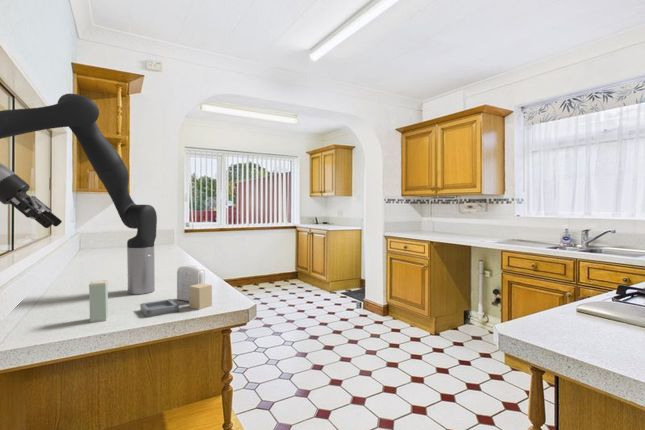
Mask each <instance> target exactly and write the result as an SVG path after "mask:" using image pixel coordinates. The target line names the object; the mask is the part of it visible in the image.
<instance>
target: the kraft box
mask: <svg viewBox="0 0 645 430" xmlns="http://www.w3.org/2000/svg"><path fill="white" fill-rule="evenodd" d="M212 286H213V285H212V284H207V283H205V284H203V283H201V284H196V285H192V286H189V301H188V303H189V304H188V307H189V308H190V309H191V308H192V309H196V310H198V311H200V310H203V309H207V308H210V307H212V306H213V305H212V304H213V294H212V293H213V290H212V289H213V287H212Z"/></svg>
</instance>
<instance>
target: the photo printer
mask: <svg viewBox="0 0 645 430" xmlns="http://www.w3.org/2000/svg"><path fill="white" fill-rule="evenodd" d="M201 283H203V284H206V272H205V269H204V268H203V267H200V266H198V265H193V264H185V265H182V266H179V267H178V268H177V270H176V299H177V300H179V301H186V302H189V286H192V285H196V284H201Z"/></svg>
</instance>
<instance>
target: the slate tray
mask: <svg viewBox="0 0 645 430" xmlns="http://www.w3.org/2000/svg"><path fill="white" fill-rule="evenodd" d="M179 309H180V308H179V304H177V303H176V302H174V301H173V300H172V299H170V298H169V299H164V300H157V301H151V302H145V303H140V311H141V312H142V314H143V315H144V316H145V317H146V318H152V317H156V316H157V317H158V316H163V315H169V314H173V313H178V312H179V311H180V310H179Z"/></svg>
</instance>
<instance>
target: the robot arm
mask: <svg viewBox="0 0 645 430" xmlns="http://www.w3.org/2000/svg"><path fill="white" fill-rule="evenodd" d="M99 117H100V109H99V107H98V105H97V103H95V101H93V100H92V99H91V98H89V97H87V96H85V95H81V94H78V93H77V94H76V93H66V94H62V95H61V96H60V97H59V99H58V100H57V103H55V104H50V105H45V106H40V107H31V108H16V109H15V108H14V109H3V110H0V140H2V139H6V138H10V137H15V136H19V135H24V134H30V133H34V132H40V131H44V130H51V129H58V128H67V127H68V128H69V129H70V130H71V132H72V133H73V135H74V136H75V137H76V139H77V140H78V142H79V144H80V146H81V147H82V149H83V150H82V151H83V152H84V154H85V156H86V158H87V159H88V162H89V163H90V165H91V167H92V169H93V170H94V172H95V173H96V175H97V177H98V179H99V180H100V182H101V183H102V185H103V187H104V188H105V190H106V192H107V194H108V195H109V197H110V199H111V200H112V203H113V204H114V207H115V209H116V211H117V213H118V216H119V218H120V219H121V222H122V223H123V224H124V226H126V228H129V229H133V230H134V229H136V230H137V231H136V235H134V236H133V237H131V238H129V239H128V240H127V242H126V250H127V251H126V252H127V253H126V256H127V259H126V260H127V264H126V265H127V266H126V267H127V293H128V294H129V295H144V294H149V293H152V292H155V289H156V287H155V285H156V284H155V281H156V280H155V277H156V276H155V274H156V273H155V269H156V268H155V241H156V238H157V223H158V215H157V212H156V209H155V207H154V206H152V205H151V204H136V203H135V202H134V201H133V199H132V197H131V194H130V192H129V182H130V173H129V170H128V168H127V166H126V164H125V162H124V161H123V158H122V157H121V155H120V154H119V152H118V151H117V150H116V149H115V147H114V146H113V145H112V143H110V141H108V139H107V138H106V137H105V135H104V134H103V133H102V132H101V130H100V128H99V126H98V124H97V121H98V118H99ZM30 187H31V186H30V184H28V182H26V181H25V180H24V179H22V178H21V177H20V176H19V175H17V174H16V173H15V172H14V171H13V170H11V169H10V168H9V167H7V166H6V165H4V164H2V162H0V203H1V204H3V205H11V206H13V207H14V208H15V209H16V210H17V211H19V212H20V213H21V214H23V215H24V216H25V218H28V219H29V218H30V219H32V220H34V221H36V222H37V223H38V224H40V225H41V226H42V227H43V228H45V229H49V228H50V227H51V226H53V227H58V226H59V225H61V224H62V223H63V221H62V220H61V219H60V218H59V217H57V215H55V214H54V213H53V212H52V208H50V207H48V206H47V204H45V203H43V202H42V201H41V200H40V199H38V198H37V197H36V196H35V195H31V196H30V195H29V194H27V192H28V191H29V190H30Z"/></svg>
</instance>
